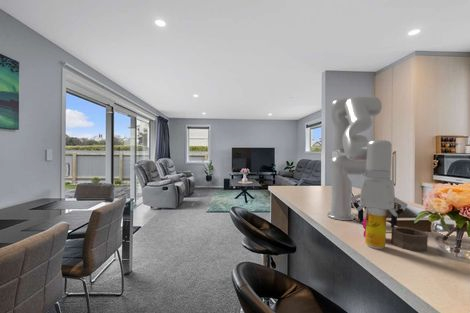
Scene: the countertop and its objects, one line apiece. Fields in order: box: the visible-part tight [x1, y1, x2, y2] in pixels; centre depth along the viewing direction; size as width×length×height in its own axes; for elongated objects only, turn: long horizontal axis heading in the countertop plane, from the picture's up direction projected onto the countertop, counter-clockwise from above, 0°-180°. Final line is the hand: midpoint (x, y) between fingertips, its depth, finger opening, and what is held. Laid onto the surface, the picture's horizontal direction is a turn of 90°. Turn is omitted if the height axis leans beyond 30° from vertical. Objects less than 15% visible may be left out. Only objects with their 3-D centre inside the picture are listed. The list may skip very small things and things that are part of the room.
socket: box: [390, 226, 429, 252], centre depth 87 cm, size 10×10×5 cm
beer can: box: [364, 207, 388, 250], centre depth 85 cm, size 6×6×15 cm
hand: (376, 224), depth 84 cm, fingers open, 9 cm apart
